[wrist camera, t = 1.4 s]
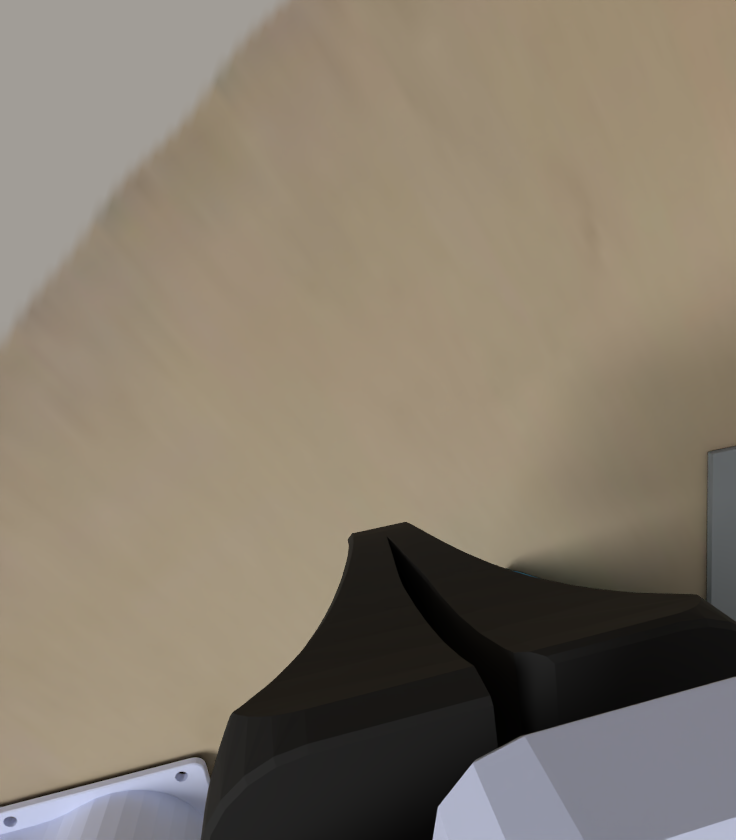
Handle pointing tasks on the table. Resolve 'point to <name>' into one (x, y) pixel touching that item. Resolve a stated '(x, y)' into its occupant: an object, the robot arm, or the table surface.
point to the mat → (722, 530)
